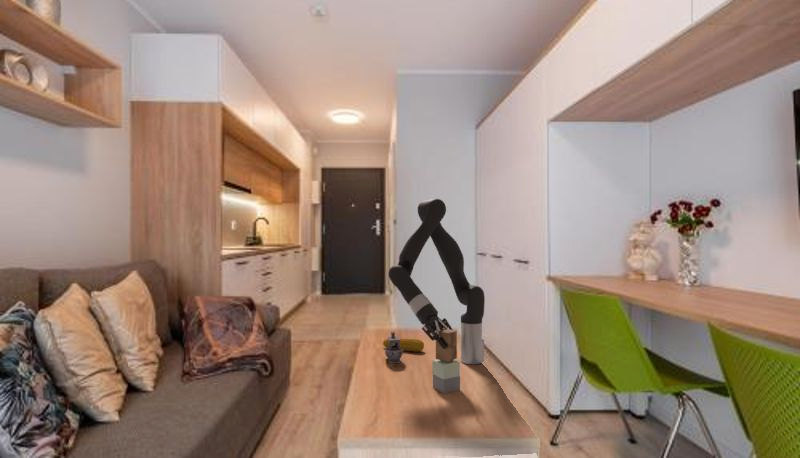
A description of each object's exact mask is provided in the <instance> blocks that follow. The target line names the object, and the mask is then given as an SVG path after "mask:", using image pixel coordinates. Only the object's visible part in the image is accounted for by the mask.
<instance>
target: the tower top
mask: <svg viewBox="0 0 800 458" xmlns="http://www.w3.org/2000/svg"><path fill="white" fill-rule="evenodd" d="M460 362H461V361H458V360H456V359H454V360H452V361H450V362H447V361H442V360H438V359H436V358H435V359H432V363H431V364H432V365H431V366H432V375H433V374H434V375H436V376H438V377H440V378H442V379H448V378H453V377H458V376H460V377H461V375H460V372H461V371H460V368H461V367H460Z"/></svg>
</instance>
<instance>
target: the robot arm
mask: <svg viewBox="0 0 800 458" xmlns="http://www.w3.org/2000/svg"><path fill="white" fill-rule="evenodd" d="M446 212H447V207H446V204H445V202H444V201H443V200H442V199H440V198H432V199H426V200H422V201H421V202H419V203H418V206H417V215H418V217H419V219H420V220H421V224H420V226H419V227H418V228H417V229H416V230H415V231H414V232H413V234H411V236H409V238H408V239H407V240H406V242H405V243H404V246H403V247H402V250H401V252H400V254H399V255H398V256H399V257H398V263H397V264H396V265H392V266H391V267H390V268H389V271H388V278H389V280H390V282H391V284H392V285H393V286H394V287H396V288H397V290H398V291H399V292H400V294H401V296H402V297H403V299H404V301H405V302H406V303H407V305H408V307H410V309H411V310H410V311H412V313H413V315H415V317H416V318H417V320H418V321H419V322H420V324H421V325H423V326H422V327H421V329H422V331H423V332H424V333H425V335H426V336H427V337H429V338H430V340H431V341H435V342H436V341H438V343H439V344H440V345H441V347H442V348H443V349H446V348H447V347H448V344H447V343H446V341H445V340H444V339H443V337H441V334H440V333H439V332H440V330H441V329H450V330H454V329H453V328H452V326H451V325H450V322H449V321H448V320H447V319H446V318H445V317H444V318H443V319H441V318H440V317H438V315H439V311H438V309H436V307H435V306H434V304H433V303H432V301H430V299H429V298H428V297H427V296H426V295H425V294H424V292H422V290H421V289H420V288H419V286H418V285H417V284H416V283H415V281H414V280H413V278H412V272H413V270H414V266H415V265H416V262H417V260H418V259H419V256H420V255H421V253H422V251H423V248H424V247H425V245H426V243H427V242H428V240H429V239H430V238H431V240H432V243H433V245H434V246H435V249H436V251H437V253H438V255H439V257H440V260H441V262H442V264H443V266H444V268H445V270H446V273H447V274H448V276H449V279H450V281H451V284H452V287H453V290H454V293H455V295H456V298H457V300H458V302H459V303H460V304H462V305H464V306H466V310H465V311H466V312H465V313H463V314H461V315H460V362H461V363H463V364H467V365H479V364H481V363H484V362H485V341H484V339H483V318H484V315H485V302H486V301H485V298H486V297H485V292H484V290H483V288H482V287H481V286H478V285H474V284H471V283H470V282H469V281H468V278H467V277H466V274H465V271H464V266H465V259H464V255H463V252H462V250H461V248H460V245H459V244H458V242H457V241H456V240H455V238H454V237H453V236H452V235H451V234H449V232H448V231H447V230H446V229H445V228H444V227H443V225H442V223H441V222H442V221H443V218H444V217H445V216H446Z"/></svg>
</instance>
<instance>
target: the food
mask: <svg viewBox="0 0 800 458" xmlns="http://www.w3.org/2000/svg"><path fill="white" fill-rule="evenodd" d="M400 339H401V341H400V350H402V349H403V352H413V353H420V352H422V351H423V350H424V348H425V344H424V342H423V341H422V340H421V339H416V338H414V339H413V338H400ZM382 344H383V346H384V348H389V342H388V338H386V339H384V340H383V342H382ZM394 344H395V343H392V345H394Z"/></svg>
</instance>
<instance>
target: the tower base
mask: <svg viewBox="0 0 800 458" xmlns="http://www.w3.org/2000/svg"><path fill="white" fill-rule="evenodd" d="M432 388H433V389H435V390H437V391H438V392H440V393H442V394H448V393H452V392H458V391H460V390H461V375H460V376H458V377H453V378H448V379H442V378H440V377H438V376H436V375H434V374H432Z"/></svg>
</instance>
